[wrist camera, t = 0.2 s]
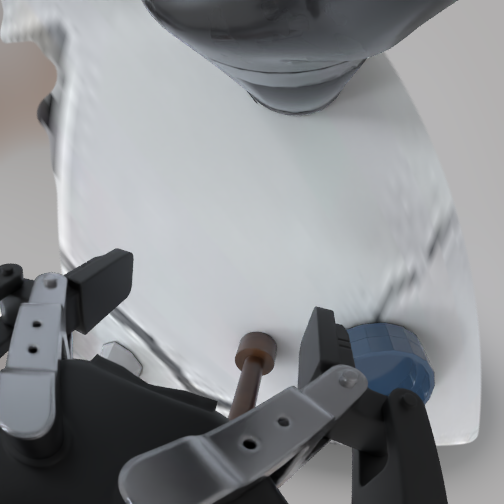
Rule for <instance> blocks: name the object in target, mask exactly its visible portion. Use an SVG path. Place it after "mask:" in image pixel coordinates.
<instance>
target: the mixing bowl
mask: <svg viewBox="0 0 504 504" xmlns="http://www.w3.org/2000/svg"><path fill="white" fill-rule="evenodd" d="M346 331H347V332H348V334H349V339H350V343H351V349H352V353H353V358H354V363H355V368H356V369H358V370H359V371H360V372H362V373H363V374H364V375H365V377H366V378H367V381H368V388H369V389H371V390H373V391H376V392H378V393H380V394H383V395H386V396H389V395H390V393H391V392H392V391H393V390H394V389H397V388H404V389H408V390H411V391H413V392H414V393H416V394H417V395H418V396H419V397H420V398H421V399H422V401H423V402H424V405H425V404H426V403H427V401H428V400H429V398H430V396H431V394H432V391H433V389H434V386H435V380H434V371H433V368H432V366H431V364H430V361H429V359H428V357H427V354H426V352H425V350H424V347H423V345H422V344H421V342H420V341H419V339H418V338H417V336H416V335H415V334H414V333H412V332H411V331H409V330H407V329H406V328H404V327H402V326H399V325H394V324H389V323H373V324H362V325H359V326H356V327H353V328H350V329H347V330H346Z"/></svg>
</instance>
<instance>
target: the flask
mask: <svg viewBox="0 0 504 504" xmlns="http://www.w3.org/2000/svg"><path fill="white" fill-rule="evenodd" d="M100 356H102V357H104V358H106V359H108V360H110V361H112V362H115V363H117V364H119V365H121V366H123V367H125V368H126V369H127V370H129V371H130V372H132V373H133V374H135V375H136V376H137V377H139V374H140V371H141V369H142V366H141V365H140V364H139V362H138V361H137V360H136V358H135V357H134V356H133V354H132V353H131V352H130V351H128V350H127V349H125V348H123V347H122V346H120V345H119V344H117V343H116V342H113V343H109V344H105V345H103V348H102V351H101V354H100Z"/></svg>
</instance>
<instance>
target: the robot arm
mask: <svg viewBox="0 0 504 504" xmlns="http://www.w3.org/2000/svg"><path fill="white" fill-rule="evenodd" d="M456 1H458V0H142V2H143V4H144V6H145V7H146V9H147V10H148V12H149V13H150V14H151V16H152V17H153V18H154V19H155V20H156V21H157V22H158V23H159V24H160V25H161V26H162V27H163V28H165V29H166V30H167V31H168V32H169V33H171V34H172V35H173V36H175V37H176V38H178V39H179V40H181V41H182V42H183V43H185V44H186V45H188V46H189V47H191V48H192V49H193V50H194V51H196V52H197V53H199V54H200V55H201V56H203V57H204V58H205V59H207V60H208V61H210V62H211V63H212V64H214V65H215V66H216V67H218V68H219V69H220V70H222V71H223V72H224V73H225V74H227V75H228V76H229V77H231V78H232V79H233V80H234V81H236V82H237V83H238V84H239V85H240V86H242V87H243V88H244V89H245V90H246V91H247V92H248V93H249V94H250V96H251V97H252V96H253V97H254V98H255V99H256V100H257V101H258V102H259V103H260V104H262V105H263V106H265V107H266V108H268V109H270V110H272V111H275V112H277V113H281V114H285V115H307V114H311V113H315V112H317V111H320V110H322V109H323V108H325V107H327V106H328V105H329V104H331V103H332V102H333V101H334V100H335V99H336V98H337V96H338V95H339V94H340V92H341V91H342V89H343V87H344V86H345V85H346V84H347V82H348V81H349V80H350V79H351V78H352V76H353V75H354V74H355V73H356V71H357V70H358V69H359V68H360V66H361V65H362V64H363V63H364V62H365V60H366V59H367V58H368V57H372V56H375V55H377V54H380V53H382V52H384V51H386V50H388V49H390V48H391V47H393V46H394V45H396V44H397V43H399V42H400V41H401V40H403V39H404V38H405V37H407V36H408V35H409V34H410V33H412V32H413V31H414V30H415V29H417V28H418V27H419V26H421V25H422V24H423V23H425V22H426V21H428V20H429V19H431V18H432V17H434V16H435V15H436V14H438V13H439V12H441V11H442V10H444V9H445V8H447V7H448V6H450V5H451V4H453V3H454V2H456ZM253 97H252V98H253ZM254 98H253V99H254ZM255 99H254V101H255ZM255 102H256V101H255ZM256 103H257V102H256ZM132 273H133V254H132V253H131V252H127V251H124V250H121V249H118V248H116V249H114V250H112V251H110V252H109V253H107V254H105V255H103V256H99V257H94V258H93V259H91V260H89V261H87V263H84V264H82V265H81V266H79V267H77V268H75V269H74V270H72V271H70V272H68V273H67V274H65V275H62V274H59V273H53V272H52V273H44V274H41V275H39V276H38V277H37V278H36V279H35V280H29V279H25V278H23V269H22V267H21V266H19V265H17V264H4V265H1V266H0V309H1V313H2V316H1V317H0V358H1V357H2V356H3V355H4V354H5V353H6V352H7V351H9V352H8V357H7V362H6V367H5V368H4V369H2V370H1V371H0V504H288V503H287V501H286V500H285V498H284V497H283V495H282V494H281V493H280V491H279V489H278V488H279V487H281V486H282V485H283V484H284V483H285V482H286V481H288V480H289V479H290V478H291V477H292V476H293V475H294V474H295V473H296V472H297V471H298V470H299V469H300V468H301V467H302V466H303V465H305V464H306V463H307V462H308V461H309V460H310V459H311V458H312V457H314V456H315V455H316V454H317V453H318V452H319V451H320V450H321V449H322V448H323V447H325V446H326V445H327V444H328V443H329V442H330V441H331V440H335V441H337V442H339V443H342V444H344V445H347V446H350V447H352V504H448V502H447V496H446V491H445V485H444V480H443V475H442V470H441V466H440V461H439V457H438V453H437V449H436V445H435V441H434V437H433V433H432V429H431V426H430V422H429V419H428V415H427V412H426V408H425V405H424V402H423V401H422V399H421V398H420V397H419V396H418V395H417V394H416V393H414V392H413V391H411V390H408V389H404V388H397V389H394V390H393V391H392V392H391V393H390V395H389V396H386V395H383V394H380V393H378V392H376V391H373V390H371V389H369V388H368V381H367V378H366V377H365V375H364V374H363V373H362V372H360V371H359V370H358V369H356V368H355V363H354V358H353V353H352V349H351V343H350V339H349V334H348V332H347V331H346V330H345V328H344V327H343V326H342V325H340V324H335V318H334V312H333V311H332V310H328V309H324V308H320V307H315V308H314V310H313V312H312V315H311V318H310V320H309V323H308V326H307V328H306V331H305V333H304V336H303V339H302V342H301V346H300V352H299V373H298V389H297V388H296V387H295V386H291V387H288V388H287V389H285V390H283V391H282V392H280V393H279V394H277V395H275V396H274V397H272V398H270V399H269V400H267V401H265V402H263V403H262V404H260V405H258V406H256V407H255V408H253V409H251V410H249V411H248V412H246V413H244V414H242V415H240V416H238V417H237V418H235V419H233V420H231V421H230V420H229V419H228V418H226V417H225V416H223V415H222V414H220V413H219V412H217V411H215V409H216V405H217V402H218V401H215V400H212V399H209V398H205V397H202V396H199V395H196V394H193V393H190V392H187V391H184V390H177V389H171V388H165V387H160V386H154V385H150V384H148V383H146V382H145V381H143V380H142V379H140V378H139V377H137V376H136V375H135V374H133V373H132V372H130V371H129V370H127V369H126V368H125V367H123V366H121V365H119V364H117V363H115V362H112V361H110V360H108V359H106V358H104V357H102V356H100V355H98V354H97V355H96V356H95V357H94V358H93V359H92V360H91V361H87V360H80V359H73V336H72V332H73V331H74V330H76V331H78V332H80V333H82V334H84V335H86V334H87V333H88V332H89V331H90V330H91V329H92V328H93V327H95V326H96V325H97V324H98V323H99V322H100V321H101V320H102V319H103V318H104V317H106V316H107V315H108V314H109V313H110V312H111V311H112V310H113V309H115V308H116V307H117V306H118V305H119V304H120V303H121V302H122V301H124V300H125V299H126V298H127V297H128V295H129V293H130V291H131V287H132Z"/></svg>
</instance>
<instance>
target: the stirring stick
mask: <svg viewBox="0 0 504 504" xmlns="http://www.w3.org/2000/svg"><path fill="white" fill-rule="evenodd" d="M276 350H277V346H276V343H275V341H274V340H273V339H272V338H271V337H270V336H269V335H267V334H264V333H261V332H252V333H249V334H246V335H245V336H244V337H243V338H242V339H241V341H240V344H239V347H238V350H237V354H236V357H235V363H236V365H237V367H238V368H239V369H240V370H241V371H242V372H241V375H240V379H239V382H238V386H237V389H236V392H235V396H234V399H233V403H232V406H231V410H230V413H229V416H228V419H229V420H230V421H231V420H233V419H235V418H237V417H238V416H240V415H242V414H244V413H246V412H248V411H249V410H251V409H253V408H255V406H256V401H257V396H258V392H259V387H260V382H261V377H262V376H263V375H266V374H268V373H269V372H271V371H272V369H273V367H274V362H275V356H276Z"/></svg>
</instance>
